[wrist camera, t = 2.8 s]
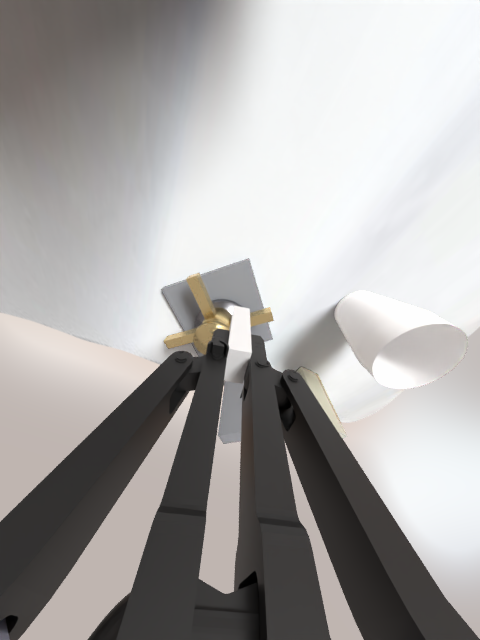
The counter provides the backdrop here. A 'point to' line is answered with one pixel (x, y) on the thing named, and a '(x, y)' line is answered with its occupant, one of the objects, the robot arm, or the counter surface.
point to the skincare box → (322, 397)
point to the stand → (229, 285)
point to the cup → (399, 340)
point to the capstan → (211, 317)
